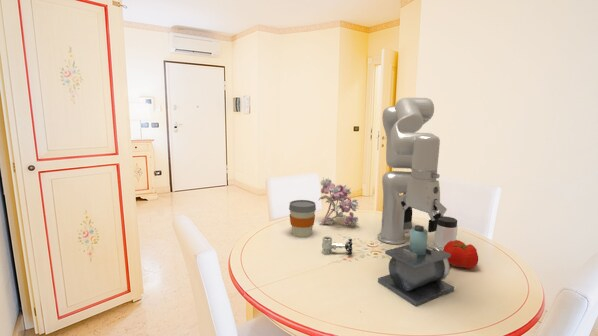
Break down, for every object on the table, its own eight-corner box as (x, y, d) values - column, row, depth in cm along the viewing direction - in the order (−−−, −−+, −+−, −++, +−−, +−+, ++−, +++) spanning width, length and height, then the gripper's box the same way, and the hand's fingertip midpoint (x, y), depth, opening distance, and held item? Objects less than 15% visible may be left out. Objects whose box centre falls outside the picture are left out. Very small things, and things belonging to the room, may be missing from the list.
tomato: (434, 260, 128) (435, 239, 126) (458, 255, 132) (460, 236, 130) (459, 275, 116) (462, 252, 114) (485, 269, 120) (488, 248, 119)
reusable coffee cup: (319, 232, 155) (320, 202, 153) (306, 240, 145) (307, 208, 142) (298, 227, 162) (298, 198, 159) (283, 235, 151) (283, 204, 149)
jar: (438, 239, 148) (440, 214, 147) (457, 244, 143) (459, 218, 141) (431, 245, 142) (434, 219, 140) (451, 250, 137) (454, 223, 135)
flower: (335, 234, 149) (356, 184, 151) (302, 217, 165) (321, 173, 167) (357, 241, 163) (375, 196, 165) (324, 225, 179) (342, 184, 181)
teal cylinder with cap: (416, 247, 109) (418, 223, 108) (429, 253, 105) (431, 227, 103) (405, 250, 106) (407, 225, 105) (418, 256, 102) (420, 230, 101)
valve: (321, 256, 130) (351, 257, 129) (322, 240, 128) (352, 241, 128) (321, 249, 136) (350, 250, 135) (322, 234, 135) (351, 235, 134)
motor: (414, 270, 119) (417, 236, 117) (453, 290, 105) (457, 253, 103) (377, 282, 110) (380, 245, 108) (415, 306, 96) (419, 265, 94)
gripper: (456, 178, 96) (450, 233, 99) (410, 169, 111) (406, 216, 114) (439, 181, 92) (434, 238, 95) (394, 170, 107) (391, 220, 110)
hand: (419, 226), depth 104 cm, fingers open, 9 cm apart
